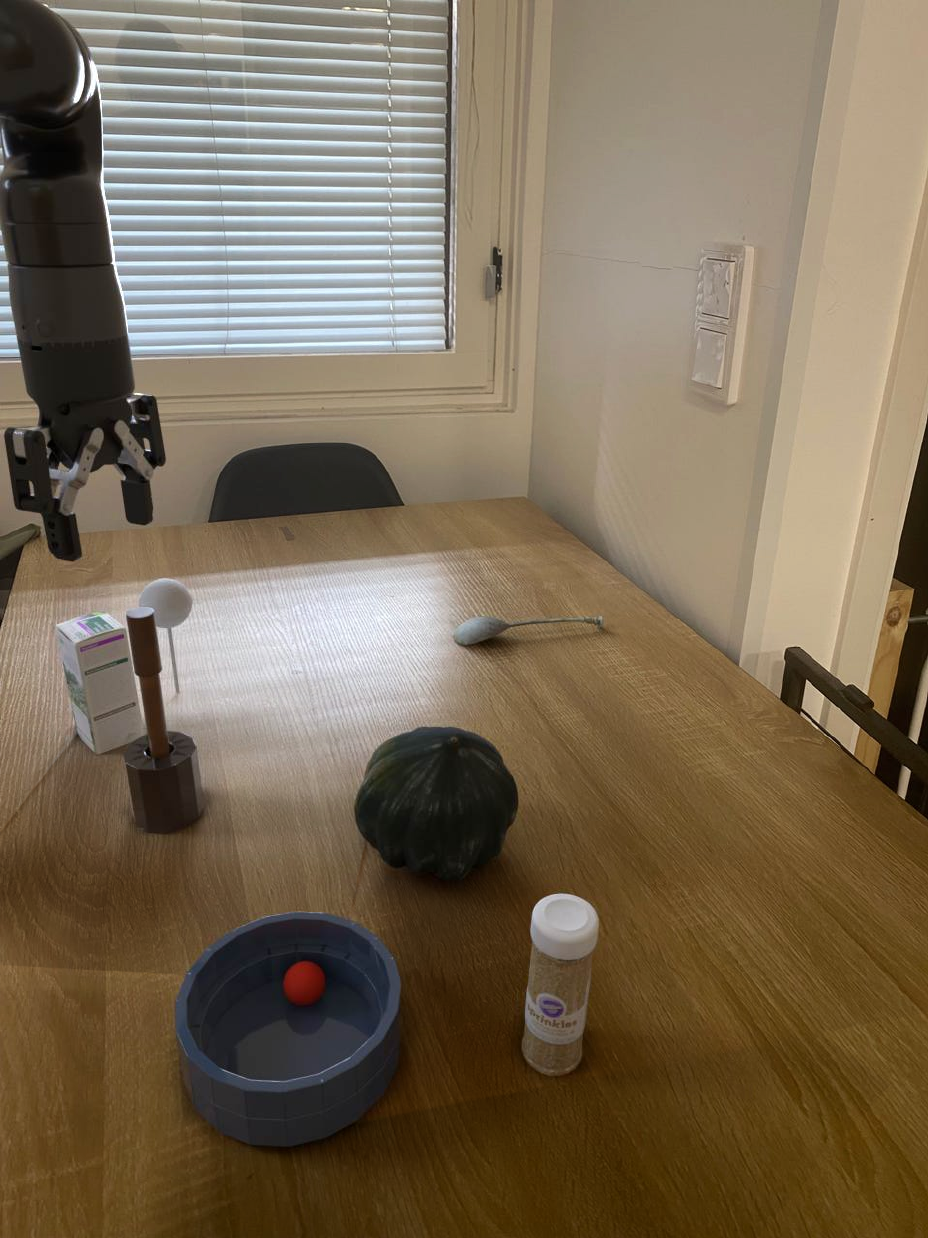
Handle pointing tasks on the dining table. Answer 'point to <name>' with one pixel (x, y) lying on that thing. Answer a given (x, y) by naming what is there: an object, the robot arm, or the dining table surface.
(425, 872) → the squash
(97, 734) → the syrup box
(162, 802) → the crock
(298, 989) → the cherry tomato
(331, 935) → the bowl
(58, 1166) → the dining table surface
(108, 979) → the dining table surface
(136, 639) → the stirring stick
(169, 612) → the lollipop
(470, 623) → the soupspoon
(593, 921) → the sprinkles bottle
